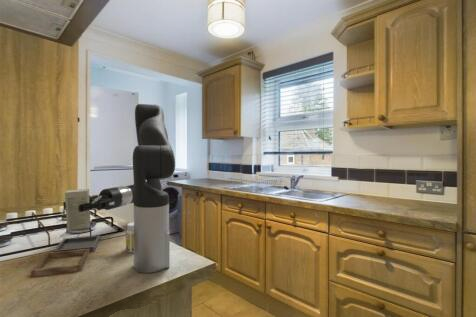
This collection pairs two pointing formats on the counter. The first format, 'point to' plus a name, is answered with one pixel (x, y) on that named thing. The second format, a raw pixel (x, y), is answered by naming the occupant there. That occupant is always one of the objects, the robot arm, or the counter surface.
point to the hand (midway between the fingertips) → (71, 206)
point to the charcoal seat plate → (78, 243)
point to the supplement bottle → (130, 237)
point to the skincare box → (72, 214)
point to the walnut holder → (42, 271)
